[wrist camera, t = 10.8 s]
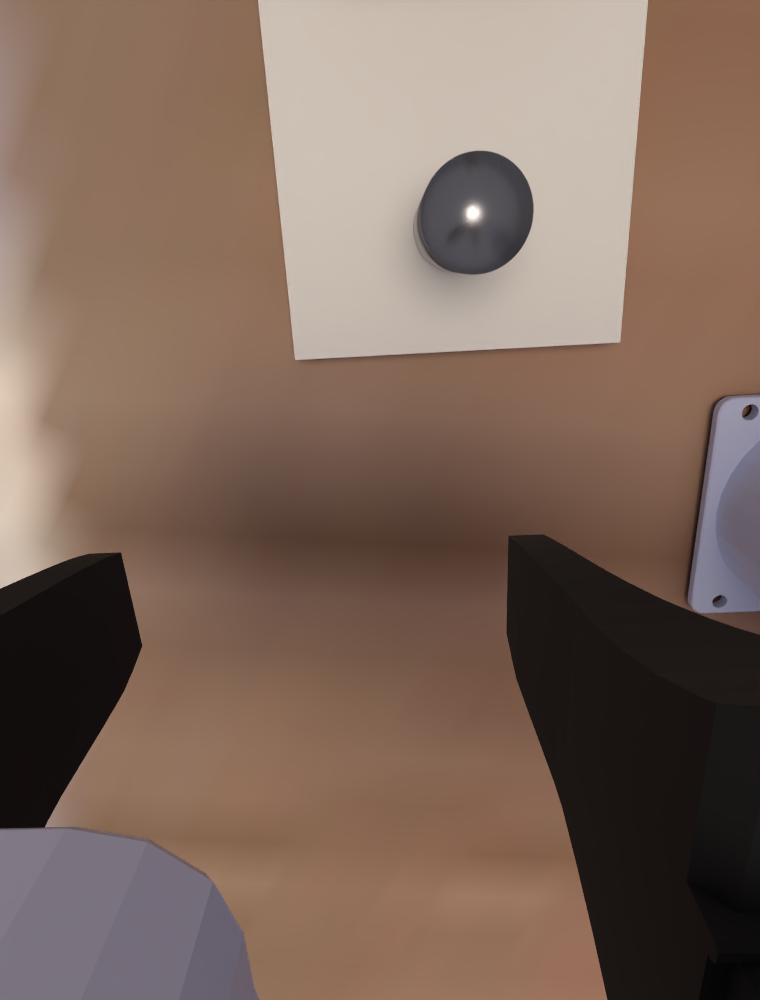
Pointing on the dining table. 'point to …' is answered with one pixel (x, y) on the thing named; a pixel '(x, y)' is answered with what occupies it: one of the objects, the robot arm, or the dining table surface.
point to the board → (434, 141)
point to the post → (474, 214)
